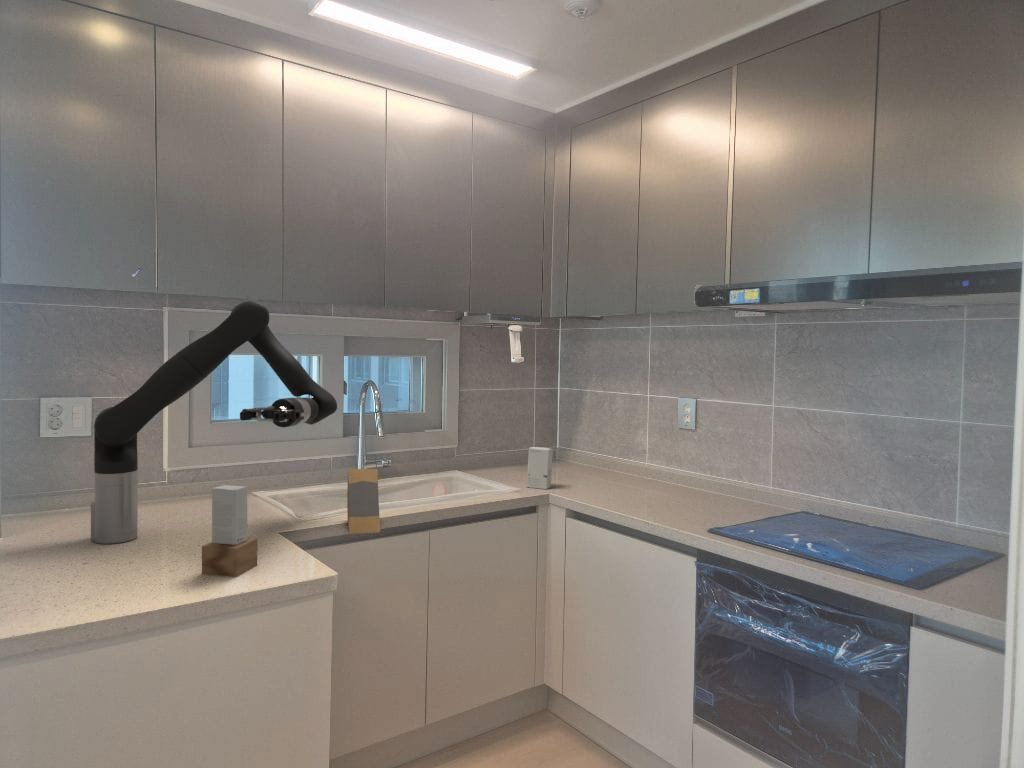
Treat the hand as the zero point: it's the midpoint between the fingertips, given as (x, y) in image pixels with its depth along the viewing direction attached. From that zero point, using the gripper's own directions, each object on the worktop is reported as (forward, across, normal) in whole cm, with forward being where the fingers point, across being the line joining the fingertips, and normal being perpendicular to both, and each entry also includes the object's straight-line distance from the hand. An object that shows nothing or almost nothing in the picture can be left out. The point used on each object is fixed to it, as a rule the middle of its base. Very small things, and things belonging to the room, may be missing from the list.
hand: (258, 416), depth 154 cm
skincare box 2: (-94, +59, +32) cm, 115 cm away
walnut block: (+16, +3, +32) cm, 36 cm away
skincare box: (+16, +3, +26) cm, 31 cm away
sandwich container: (-26, +17, +32) cm, 45 cm away
